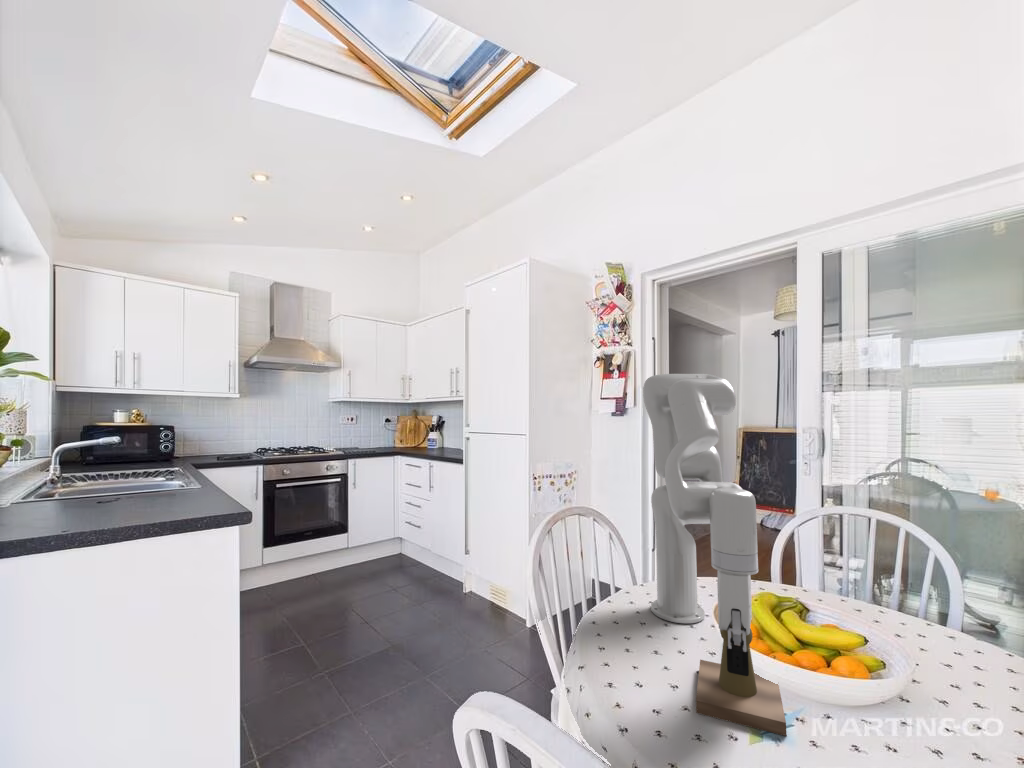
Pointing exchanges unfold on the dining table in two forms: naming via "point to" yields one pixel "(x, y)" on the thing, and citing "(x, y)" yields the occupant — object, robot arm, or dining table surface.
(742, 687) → the olive pawn
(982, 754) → the dining table surface
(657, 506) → the robot arm
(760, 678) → the walnut board
